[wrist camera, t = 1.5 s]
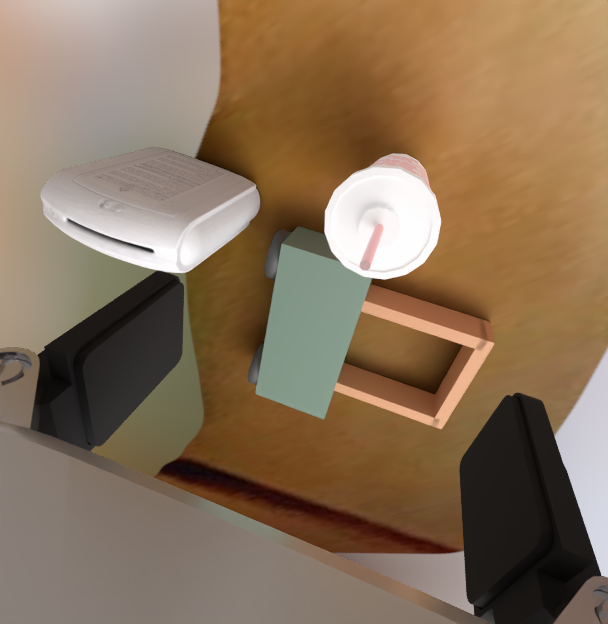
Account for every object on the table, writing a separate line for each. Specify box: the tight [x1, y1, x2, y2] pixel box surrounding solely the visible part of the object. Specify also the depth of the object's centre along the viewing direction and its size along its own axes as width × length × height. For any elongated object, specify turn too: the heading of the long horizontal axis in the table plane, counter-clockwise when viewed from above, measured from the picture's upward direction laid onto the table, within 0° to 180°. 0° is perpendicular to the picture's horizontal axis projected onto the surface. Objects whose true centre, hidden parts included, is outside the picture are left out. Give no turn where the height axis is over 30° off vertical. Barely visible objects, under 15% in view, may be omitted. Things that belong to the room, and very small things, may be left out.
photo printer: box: [40, 148, 260, 273], centre depth 27 cm, size 10×4×12 cm, turn 75°
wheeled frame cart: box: [248, 226, 495, 429], centre depth 33 cm, size 16×18×4 cm
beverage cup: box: [324, 153, 441, 280], centre depth 22 cm, size 6×6×14 cm
